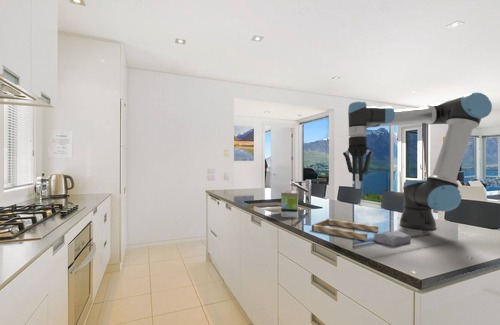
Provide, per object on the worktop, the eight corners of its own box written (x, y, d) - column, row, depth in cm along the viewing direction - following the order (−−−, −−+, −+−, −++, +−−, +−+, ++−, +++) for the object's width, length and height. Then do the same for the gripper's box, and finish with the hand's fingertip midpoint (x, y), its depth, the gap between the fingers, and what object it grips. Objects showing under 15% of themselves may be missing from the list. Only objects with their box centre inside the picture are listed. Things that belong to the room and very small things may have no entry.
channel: (378, 231, 115) (378, 226, 115) (366, 240, 102) (366, 234, 102) (328, 223, 132) (327, 218, 132) (311, 230, 118) (311, 225, 118)
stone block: (372, 245, 103) (394, 247, 94) (370, 233, 104) (392, 234, 95) (390, 242, 108) (414, 243, 99) (388, 230, 109) (411, 231, 100)
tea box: (297, 218, 146) (297, 192, 146) (280, 217, 148) (280, 192, 148) (298, 213, 161) (298, 190, 161) (282, 212, 163) (282, 190, 163)
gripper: (340, 137, 115) (340, 188, 114) (370, 134, 106) (370, 190, 106) (346, 138, 120) (346, 187, 120) (375, 136, 112) (375, 188, 111)
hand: (358, 188), depth 113 cm, fingers closed
